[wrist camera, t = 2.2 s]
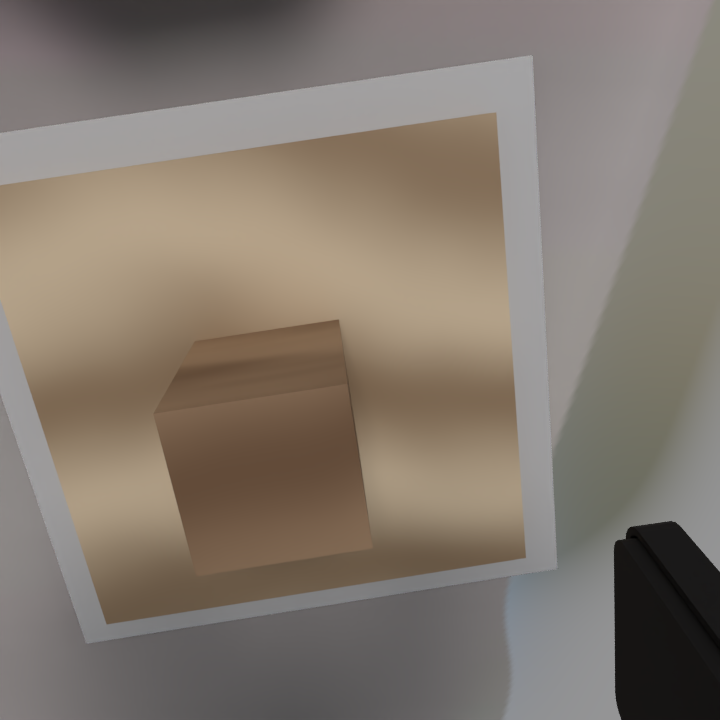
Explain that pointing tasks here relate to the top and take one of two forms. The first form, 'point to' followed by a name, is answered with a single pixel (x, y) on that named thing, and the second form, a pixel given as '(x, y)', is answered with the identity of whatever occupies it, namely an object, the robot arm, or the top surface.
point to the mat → (283, 125)
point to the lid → (273, 363)
